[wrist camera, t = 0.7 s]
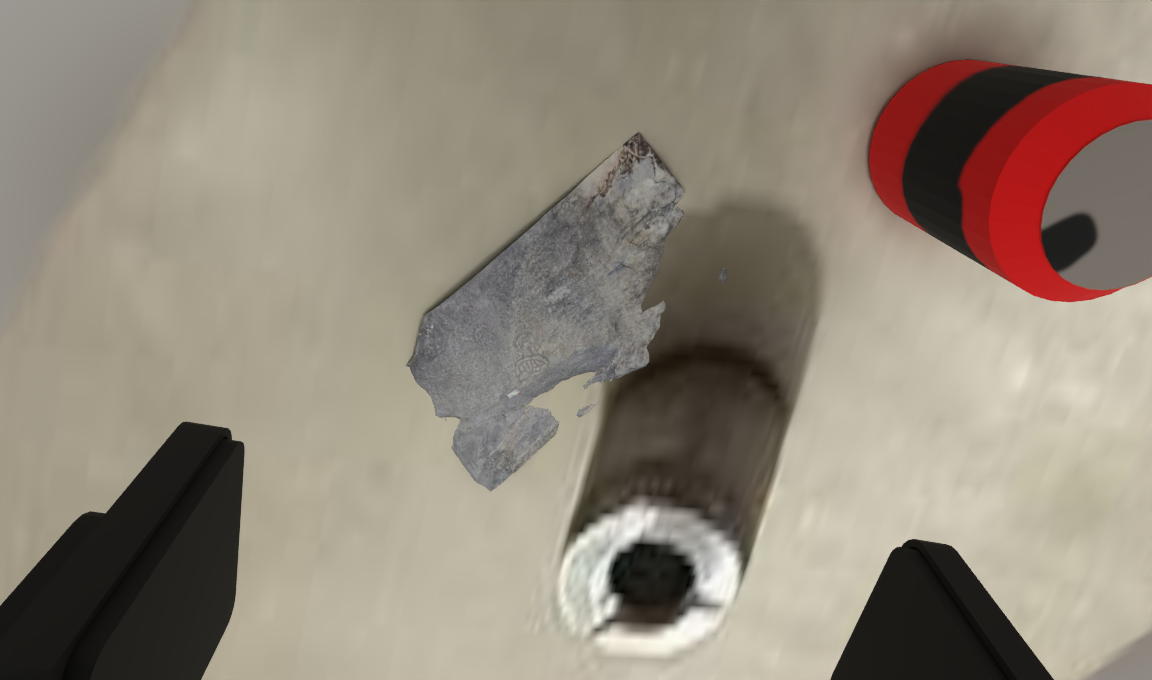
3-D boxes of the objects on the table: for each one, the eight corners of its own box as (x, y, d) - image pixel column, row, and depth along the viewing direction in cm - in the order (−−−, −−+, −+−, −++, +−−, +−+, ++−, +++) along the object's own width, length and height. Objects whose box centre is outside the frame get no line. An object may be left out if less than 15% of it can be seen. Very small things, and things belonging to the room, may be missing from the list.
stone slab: (497, 500, 42) (355, 385, 38) (497, 480, 43) (360, 368, 39) (763, 280, 38) (635, 128, 34) (752, 267, 40) (628, 121, 36)
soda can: (838, 122, 35) (977, 178, 24) (992, 23, 34) (1212, 35, 23) (904, 252, 38) (1055, 355, 27) (1048, 166, 37) (1269, 238, 26)
